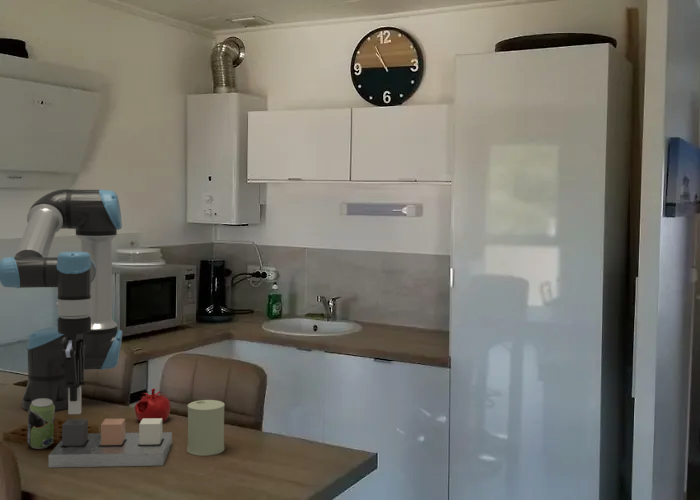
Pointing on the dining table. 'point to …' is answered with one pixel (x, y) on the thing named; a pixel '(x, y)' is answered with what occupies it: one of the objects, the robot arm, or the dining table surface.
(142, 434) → the cream key
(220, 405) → the can
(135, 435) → the key panel
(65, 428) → the charcoal key
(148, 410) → the pomegranate
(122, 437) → the terracotta key
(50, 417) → the beverage can
